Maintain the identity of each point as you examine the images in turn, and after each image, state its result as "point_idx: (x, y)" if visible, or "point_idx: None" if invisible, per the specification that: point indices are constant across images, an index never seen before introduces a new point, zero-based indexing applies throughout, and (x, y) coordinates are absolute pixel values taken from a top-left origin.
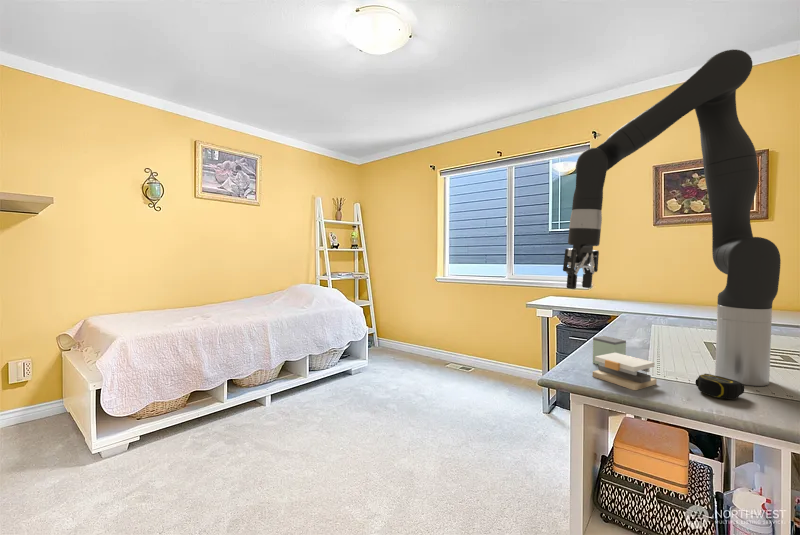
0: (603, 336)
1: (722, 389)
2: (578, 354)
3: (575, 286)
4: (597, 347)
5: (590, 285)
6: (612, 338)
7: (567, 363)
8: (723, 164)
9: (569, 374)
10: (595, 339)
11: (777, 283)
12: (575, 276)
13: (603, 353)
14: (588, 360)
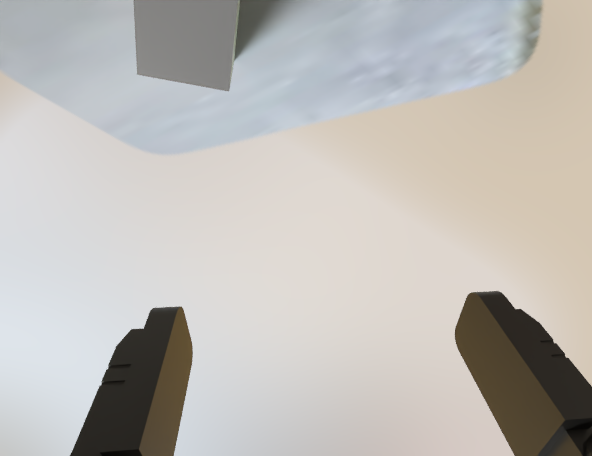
0: (156, 69)
1: None
2: (175, 149)
3: (498, 303)
4: (233, 54)
5: (169, 321)
6: (155, 11)
7: (313, 115)
8: None
9: (430, 46)
10: (230, 75)
11: None
12: (581, 401)
13: (237, 17)
14: None
